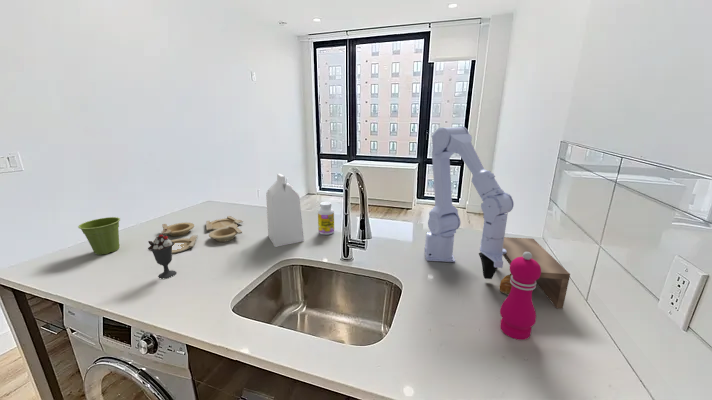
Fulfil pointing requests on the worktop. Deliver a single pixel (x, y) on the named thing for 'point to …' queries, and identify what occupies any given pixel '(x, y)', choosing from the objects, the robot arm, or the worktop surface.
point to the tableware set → (221, 227)
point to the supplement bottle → (325, 219)
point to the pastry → (506, 284)
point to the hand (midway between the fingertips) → (487, 277)
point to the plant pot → (102, 234)
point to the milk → (283, 213)
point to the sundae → (163, 254)
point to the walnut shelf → (551, 271)
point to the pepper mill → (520, 298)
